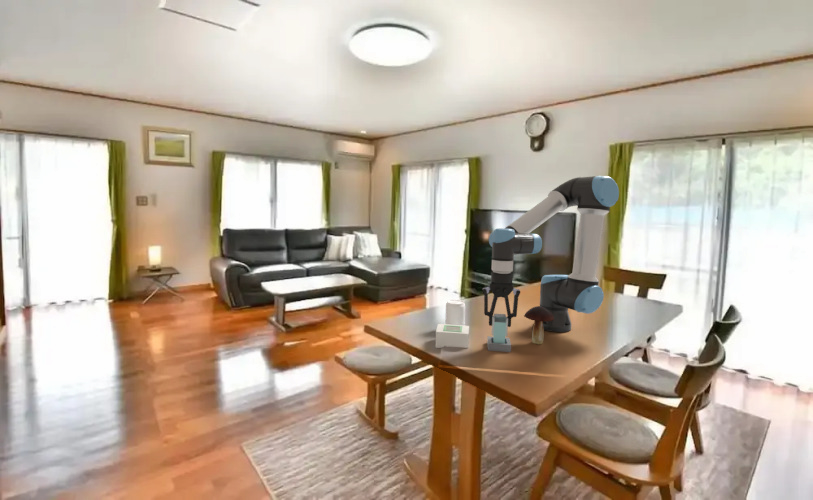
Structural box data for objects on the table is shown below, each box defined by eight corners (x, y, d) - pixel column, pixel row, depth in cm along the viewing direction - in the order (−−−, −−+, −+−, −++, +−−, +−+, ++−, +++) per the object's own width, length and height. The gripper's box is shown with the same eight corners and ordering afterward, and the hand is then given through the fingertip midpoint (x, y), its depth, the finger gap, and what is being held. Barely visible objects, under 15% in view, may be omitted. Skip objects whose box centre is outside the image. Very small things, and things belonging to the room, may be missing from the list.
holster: (508, 346, 150) (509, 337, 150) (510, 354, 142) (511, 345, 142) (487, 344, 151) (487, 336, 151) (487, 352, 144) (488, 343, 143)
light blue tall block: (503, 345, 148) (505, 314, 147) (504, 349, 144) (506, 317, 143) (492, 344, 149) (494, 313, 148) (493, 348, 145) (494, 316, 144)
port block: (468, 340, 155) (469, 325, 155) (468, 349, 146) (468, 333, 145) (437, 338, 157) (438, 323, 157) (435, 347, 148) (435, 331, 147)
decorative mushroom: (519, 339, 158) (521, 302, 156) (547, 340, 157) (549, 303, 156) (526, 349, 147) (529, 309, 145) (557, 350, 147) (559, 310, 145)
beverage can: (463, 333, 164) (464, 304, 163) (444, 331, 166) (445, 303, 165) (464, 327, 172) (465, 300, 171) (446, 326, 174) (447, 299, 173)
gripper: (525, 270, 146) (522, 332, 148) (477, 268, 149) (475, 329, 151) (528, 274, 138) (524, 339, 141) (478, 272, 141) (475, 336, 144)
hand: (499, 334), depth 146 cm, fingers closed on light blue tall block, 4 cm apart
